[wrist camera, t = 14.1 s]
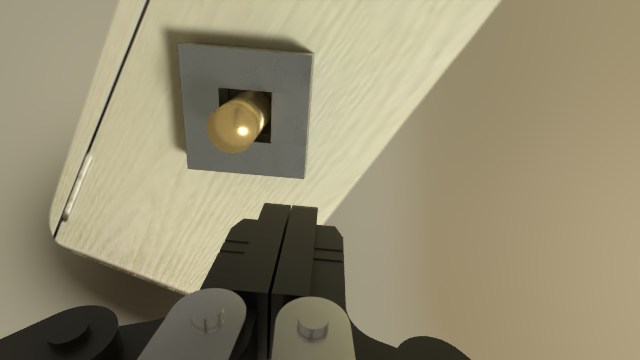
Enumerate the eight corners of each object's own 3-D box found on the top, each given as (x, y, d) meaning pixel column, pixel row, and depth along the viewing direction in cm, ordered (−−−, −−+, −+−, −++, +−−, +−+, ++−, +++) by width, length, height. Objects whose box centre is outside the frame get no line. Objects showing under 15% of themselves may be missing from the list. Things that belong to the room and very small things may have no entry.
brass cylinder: (232, 89, 35) (204, 104, 28) (271, 91, 35) (253, 107, 28) (234, 127, 37) (208, 152, 29) (271, 129, 37) (255, 154, 29)
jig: (190, 42, 33) (177, 44, 31) (313, 53, 33) (312, 55, 31) (198, 158, 38) (187, 168, 36) (306, 168, 38) (304, 179, 36)
